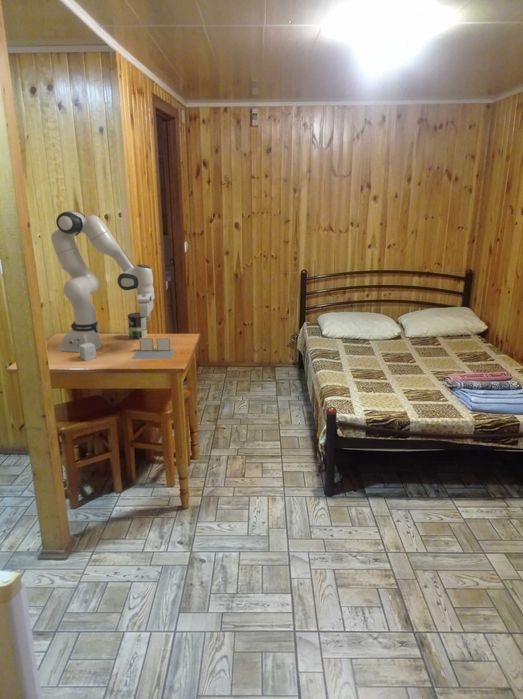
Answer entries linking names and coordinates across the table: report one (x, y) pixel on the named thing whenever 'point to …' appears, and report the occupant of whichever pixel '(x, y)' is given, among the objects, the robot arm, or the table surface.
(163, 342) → the tile
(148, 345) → the tile
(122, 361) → the table surface
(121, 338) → the table surface
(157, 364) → the table surface
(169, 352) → the mat
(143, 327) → the coffee can
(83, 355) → the skincare box
